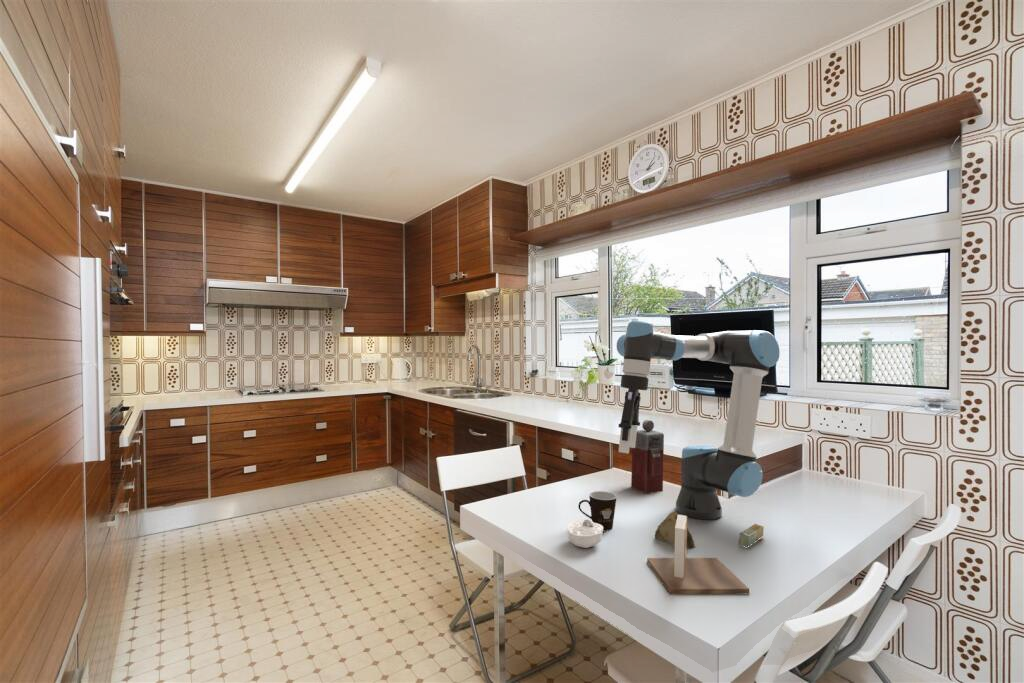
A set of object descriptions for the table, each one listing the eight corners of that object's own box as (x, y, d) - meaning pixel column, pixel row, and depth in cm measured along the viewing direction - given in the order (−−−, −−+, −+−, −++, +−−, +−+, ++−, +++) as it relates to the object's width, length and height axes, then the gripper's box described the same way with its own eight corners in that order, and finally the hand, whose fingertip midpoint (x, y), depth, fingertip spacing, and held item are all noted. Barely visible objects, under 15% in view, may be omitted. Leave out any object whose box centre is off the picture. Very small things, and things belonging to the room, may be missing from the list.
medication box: (747, 549, 136) (748, 535, 136) (737, 546, 138) (738, 532, 138) (763, 538, 144) (763, 525, 144) (754, 535, 146) (754, 523, 146)
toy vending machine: (649, 495, 183) (651, 423, 183) (630, 487, 193) (632, 419, 193) (667, 492, 187) (668, 422, 187) (647, 484, 197) (649, 418, 197)
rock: (644, 529, 143) (663, 538, 133) (658, 505, 145) (677, 511, 135) (670, 549, 144) (690, 559, 134) (683, 524, 146) (704, 533, 137)
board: (716, 562, 127) (716, 557, 127) (749, 593, 111) (749, 588, 111) (647, 562, 126) (647, 557, 126) (670, 594, 110) (670, 589, 110)
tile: (674, 576, 116) (675, 527, 116) (676, 559, 125) (677, 514, 125) (684, 578, 115) (685, 529, 115) (686, 561, 124) (687, 516, 124)
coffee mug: (616, 523, 153) (617, 492, 153) (615, 533, 144) (615, 501, 145) (580, 519, 156) (581, 489, 156) (577, 528, 148) (578, 497, 148)
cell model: (558, 546, 135) (558, 522, 135) (581, 534, 144) (582, 512, 144) (588, 557, 128) (589, 532, 128) (610, 544, 137) (611, 520, 137)
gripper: (627, 375, 147) (620, 443, 146) (615, 372, 124) (606, 452, 123) (652, 378, 144) (645, 447, 143) (644, 375, 121) (635, 457, 120)
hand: (627, 449), depth 133 cm, fingers open, 13 cm apart
